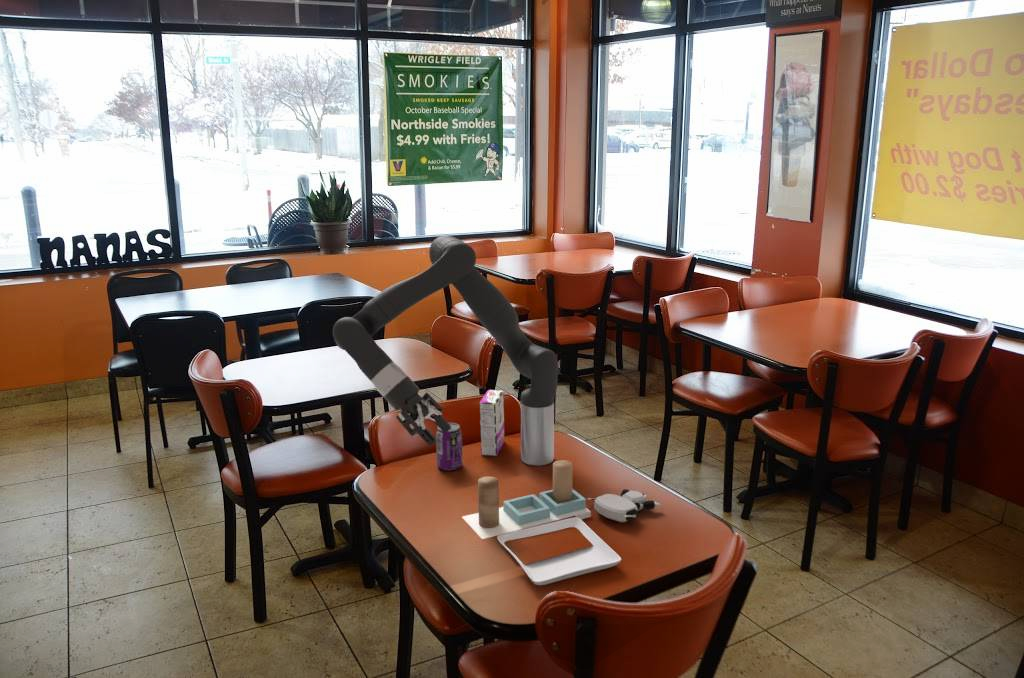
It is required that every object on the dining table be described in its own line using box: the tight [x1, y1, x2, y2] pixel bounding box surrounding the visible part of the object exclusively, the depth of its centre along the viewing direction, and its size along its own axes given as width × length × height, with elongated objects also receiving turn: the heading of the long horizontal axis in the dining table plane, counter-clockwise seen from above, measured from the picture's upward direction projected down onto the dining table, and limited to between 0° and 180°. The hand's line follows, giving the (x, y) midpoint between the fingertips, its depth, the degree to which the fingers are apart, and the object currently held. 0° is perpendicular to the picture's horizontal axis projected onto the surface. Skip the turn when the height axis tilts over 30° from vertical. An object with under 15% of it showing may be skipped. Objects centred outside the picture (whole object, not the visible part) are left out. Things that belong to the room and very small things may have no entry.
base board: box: [461, 459, 592, 540], centre depth 196 cm, size 12×29×12 cm, turn 116°
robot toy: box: [587, 488, 661, 523], centre depth 200 cm, size 12×4×15 cm
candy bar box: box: [479, 389, 506, 457], centre depth 237 cm, size 11×5×16 cm, turn 168°
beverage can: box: [435, 422, 464, 471], centre depth 226 cm, size 7×7×12 cm
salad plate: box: [496, 516, 622, 586], centre depth 180 cm, size 21×21×3 cm
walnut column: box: [477, 475, 500, 528], centre depth 191 cm, size 5×5×11 cm
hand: (441, 436), depth 191 cm, fingers open, 8 cm apart
